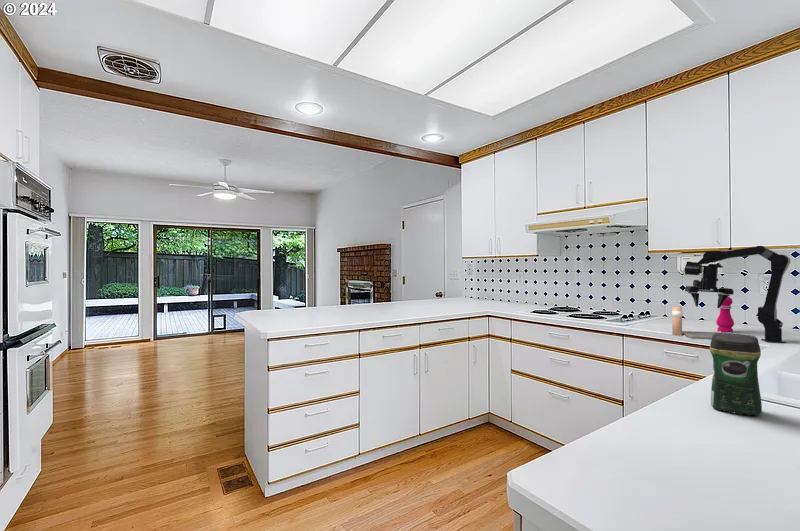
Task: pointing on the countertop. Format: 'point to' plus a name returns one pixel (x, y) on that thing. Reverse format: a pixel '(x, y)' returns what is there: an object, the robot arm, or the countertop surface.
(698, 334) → the slate board
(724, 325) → the pepper mill
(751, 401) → the coffee jar
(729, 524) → the countertop surface
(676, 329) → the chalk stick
